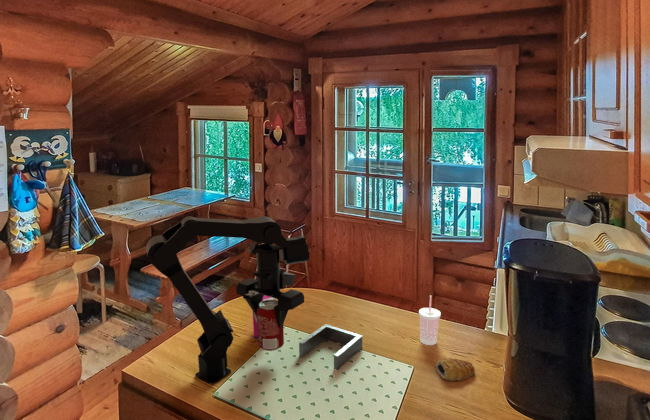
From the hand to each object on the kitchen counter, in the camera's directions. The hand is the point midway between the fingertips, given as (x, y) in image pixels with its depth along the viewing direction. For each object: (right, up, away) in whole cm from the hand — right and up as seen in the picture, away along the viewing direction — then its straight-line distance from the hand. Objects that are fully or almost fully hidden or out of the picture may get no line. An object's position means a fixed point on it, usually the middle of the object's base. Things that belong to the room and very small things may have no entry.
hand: (270, 323), depth 115 cm
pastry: (+47, -12, -3) cm, 49 cm away
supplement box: (-4, -8, +16) cm, 18 cm away
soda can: (0, -7, +1) cm, 7 cm away
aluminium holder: (+16, -9, +7) cm, 20 cm away
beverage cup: (+44, -8, +12) cm, 47 cm away
